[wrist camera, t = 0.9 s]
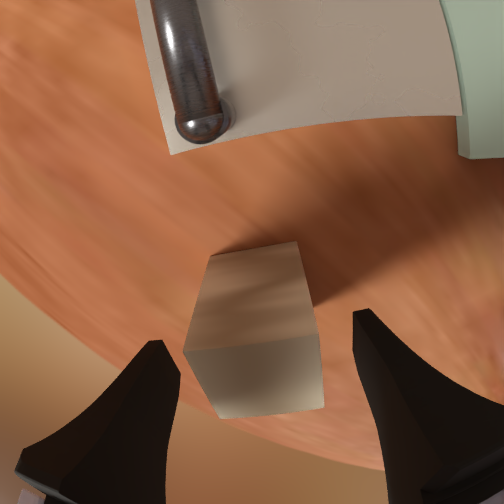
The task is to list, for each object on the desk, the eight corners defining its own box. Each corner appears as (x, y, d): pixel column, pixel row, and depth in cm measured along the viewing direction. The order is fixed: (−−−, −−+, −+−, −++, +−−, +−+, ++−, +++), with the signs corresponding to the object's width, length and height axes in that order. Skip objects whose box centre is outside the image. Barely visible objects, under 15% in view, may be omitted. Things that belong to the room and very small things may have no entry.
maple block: (296, 240, 13) (318, 333, 8) (306, 310, 15) (324, 407, 10) (209, 256, 14) (182, 351, 8) (231, 321, 16) (220, 418, 10)
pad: (486, -58, 4) (495, -62, 3) (536, 152, 10) (547, 156, 9) (390, -91, 5) (397, -99, 4) (458, 154, 11) (470, 159, 10)
